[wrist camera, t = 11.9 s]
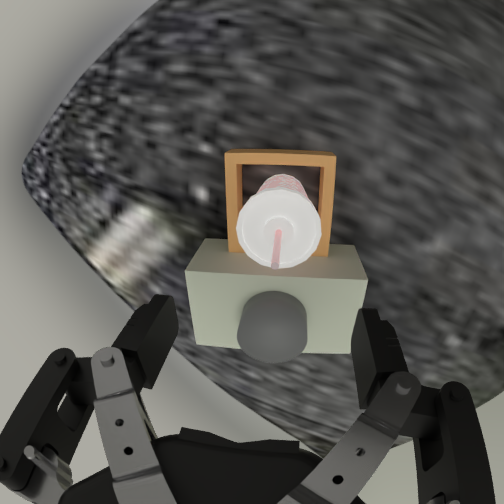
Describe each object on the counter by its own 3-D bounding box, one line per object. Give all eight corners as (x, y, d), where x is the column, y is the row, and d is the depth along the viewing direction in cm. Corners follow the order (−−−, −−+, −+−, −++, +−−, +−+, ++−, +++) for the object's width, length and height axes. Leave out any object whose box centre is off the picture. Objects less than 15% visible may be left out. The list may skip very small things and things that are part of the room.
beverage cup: (324, 183, 28) (350, 245, 15) (295, 234, 30) (296, 323, 18) (267, 155, 27) (246, 193, 15) (241, 209, 30) (206, 284, 18)
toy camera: (199, 149, 28) (157, 169, 19) (363, 154, 26) (398, 176, 17) (211, 305, 36) (188, 364, 27) (342, 312, 34) (353, 375, 25)
